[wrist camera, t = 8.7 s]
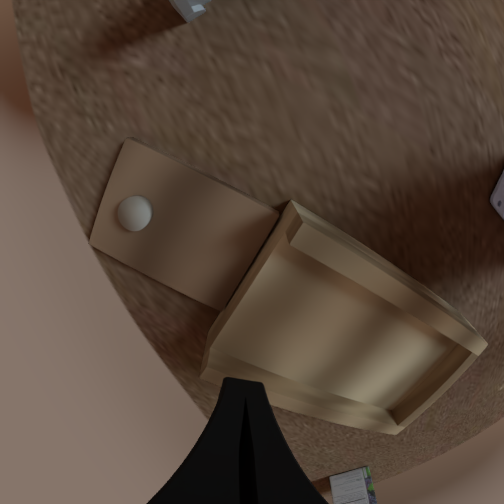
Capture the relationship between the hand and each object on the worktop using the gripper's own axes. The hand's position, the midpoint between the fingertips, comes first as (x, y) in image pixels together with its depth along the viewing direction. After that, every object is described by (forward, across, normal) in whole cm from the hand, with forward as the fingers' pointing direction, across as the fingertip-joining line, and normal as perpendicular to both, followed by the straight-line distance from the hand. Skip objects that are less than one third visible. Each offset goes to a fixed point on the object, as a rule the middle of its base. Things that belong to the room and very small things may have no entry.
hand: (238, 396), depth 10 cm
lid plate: (+11, +5, -2) cm, 12 cm away
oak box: (+10, -9, +3) cm, 14 cm away
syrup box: (+10, -21, +29) cm, 38 cm away
